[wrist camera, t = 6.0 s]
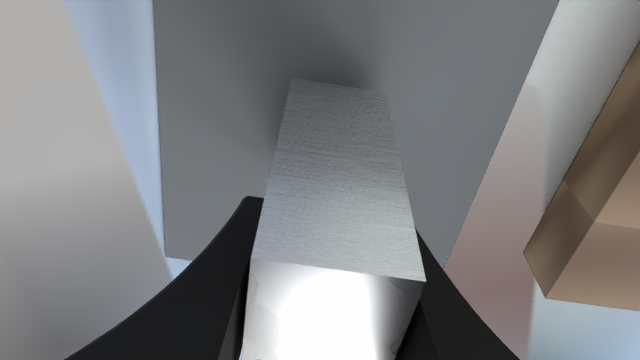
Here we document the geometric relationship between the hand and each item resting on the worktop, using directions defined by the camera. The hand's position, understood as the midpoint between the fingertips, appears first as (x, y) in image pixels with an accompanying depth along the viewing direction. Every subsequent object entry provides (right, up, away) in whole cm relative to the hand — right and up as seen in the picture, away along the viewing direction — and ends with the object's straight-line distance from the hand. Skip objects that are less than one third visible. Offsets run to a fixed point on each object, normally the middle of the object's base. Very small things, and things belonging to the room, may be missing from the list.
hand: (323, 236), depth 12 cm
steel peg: (0, +3, +3) cm, 5 cm away
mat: (0, +3, +4) cm, 5 cm away
